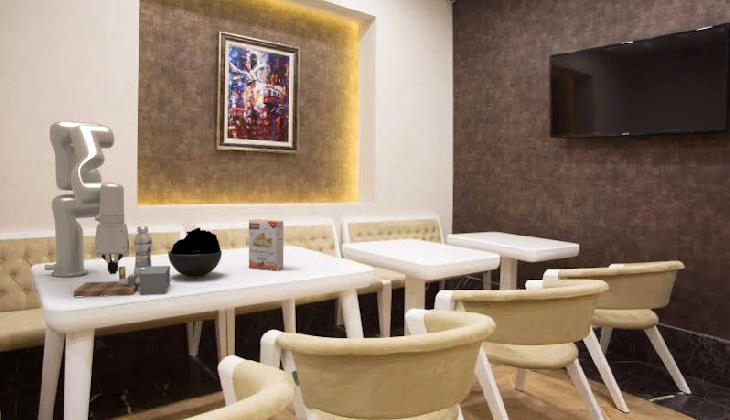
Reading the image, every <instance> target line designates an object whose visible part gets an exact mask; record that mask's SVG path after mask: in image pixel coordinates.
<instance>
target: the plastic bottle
mask: <svg viewBox="0 0 730 420" xmlns="http://www.w3.org/2000/svg"><path fill="white" fill-rule="evenodd" d="M136 232H137V234H136V236H135V238H134V239H133V246H134V254H135V262H134V269H133V274H137V277H140V273H141V272H142V271H143V270H144V268H145V267H149V266H152V259H151V258H152V247H153V238H152V237H151V235H150V234H149V227H148V226H137V230H136Z"/></svg>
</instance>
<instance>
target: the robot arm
mask: <svg viewBox="0 0 730 420" xmlns="http://www.w3.org/2000/svg"><path fill="white" fill-rule="evenodd" d="M49 139H50V143H51V146H52V148H53V149H52V150H53V152H54V156H55V157H54V162H55V164H54V165H55V183H56V187H57V189H59V190H60V191H67V192H68V191H70V192H71V191H72V192H73V193H65V194H58V195H56V196H55V197H54V198H53V199H52V202H51V210H52V215H53V219H54V220H53V221H54V229H55V232H54V234H55V260H56V262H55V263H53V264H45V265H44V270H46V271H52V272H51V276H53V277H54V278H55V277H57V278H70V277H71V278H72V277H80V276H86V275H87V274H89V269H86V268H85V261H84V259H85V258H84V257H85V256H84V254H85V253H84V229H83V227H82V226H81V224H80V223H79V221H77V219H85V218H86V219H87V218H88V219H90V218H94V221H96V222H98V223H99V224H97V225H96V229H95V230H96V231H95V237H94V239H95V240H94V250H95V251H94V252H95V255H94V256H95V257H96V258H101V259H103V260H104V261H105V262H106V263H107V272H109V275H115V274H117V272H119V261H120V260H121V259H122V258H126V257H129V256H130V255H131V253H130V239H129V236H130V235H129V229H128V226H127V223H125V190H124V189H125V187H124V186H123V185H122V184H120V183H114V182H102V180H103V179H102V176H101V172H100V171H99V169H98V168H100V167H102V165H104V163H105V160H106V159H105V156H104V153H103V150H102V149H111V148H112V147H114V145H115V135H114V132H113V130H112V129H111V128H110V127H109V126H107V125H103V124H101V123H98V122H97V123H96V122H95V123H94V122H83V121H82V122H81V121H71V120H69V121H68V120H61V121H60V120H58V121H54V122H53V123H52V124H51V125H50V128H49ZM112 255H114V258H112Z"/></svg>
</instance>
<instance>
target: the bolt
mask: <svg viewBox="0 0 730 420" xmlns="http://www.w3.org/2000/svg"><path fill="white" fill-rule="evenodd" d="M118 281H119V284H128V277H126V266H125V265H123V266H118ZM135 283H140V277H135Z"/></svg>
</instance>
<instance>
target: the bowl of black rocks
mask: <svg viewBox="0 0 730 420" xmlns="http://www.w3.org/2000/svg"><path fill="white" fill-rule="evenodd" d="M185 233H186V235H185V237H184V238H181V239H178V240H176V241H175V243H173V245H172V248H171V249H170V250H169V251H168V253H167V255H168V259H169V262H170V264H171V266H172V267H173V269H174V270H176V271H177V272H178V273H179V274H181V275H182V276H186V277H189V278H201V277H203V276H206V275H208V274H210V273H211V272H213V270H215V269H216V267H217V266H218V265H219V263H220V261H221V259H222V254H223V250H221V247H220V246H221V245H220V243H219V240H218V237H217V236H218V235H217V234H216V233H213V232H212V231H209V230H203V229H202V228H201V227H196V228H195V229H193V230H191V231H189V230H188V231H186V232H185Z"/></svg>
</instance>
